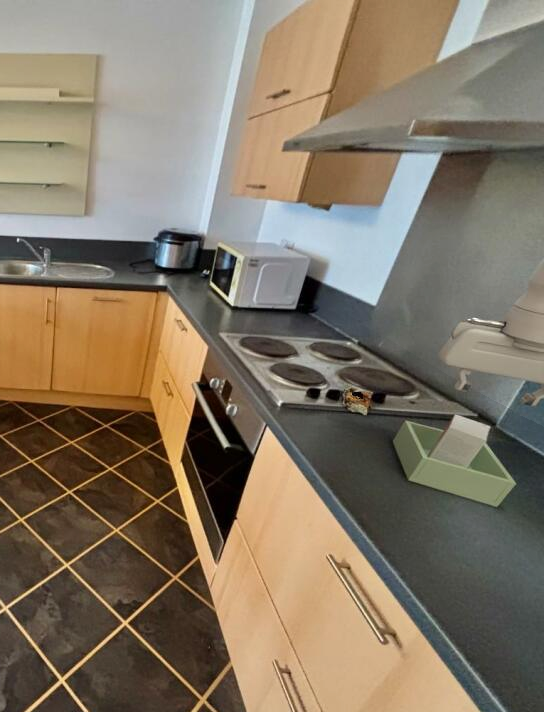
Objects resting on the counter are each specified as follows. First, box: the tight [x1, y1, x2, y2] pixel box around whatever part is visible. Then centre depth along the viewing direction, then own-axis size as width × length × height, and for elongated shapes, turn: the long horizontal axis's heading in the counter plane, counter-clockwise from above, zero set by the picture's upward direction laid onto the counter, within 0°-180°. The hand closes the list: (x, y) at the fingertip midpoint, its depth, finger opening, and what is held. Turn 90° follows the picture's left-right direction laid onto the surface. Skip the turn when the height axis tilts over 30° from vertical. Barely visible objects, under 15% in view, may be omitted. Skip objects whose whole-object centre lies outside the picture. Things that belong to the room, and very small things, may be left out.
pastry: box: [339, 385, 373, 416], centre depth 109 cm, size 7×12×4 cm, turn 154°
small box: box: [428, 414, 492, 468], centre depth 84 cm, size 8×6×10 cm
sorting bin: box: [392, 420, 517, 508], centre depth 85 cm, size 14×16×6 cm
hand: (492, 396), depth 78 cm, fingers open, 8 cm apart
